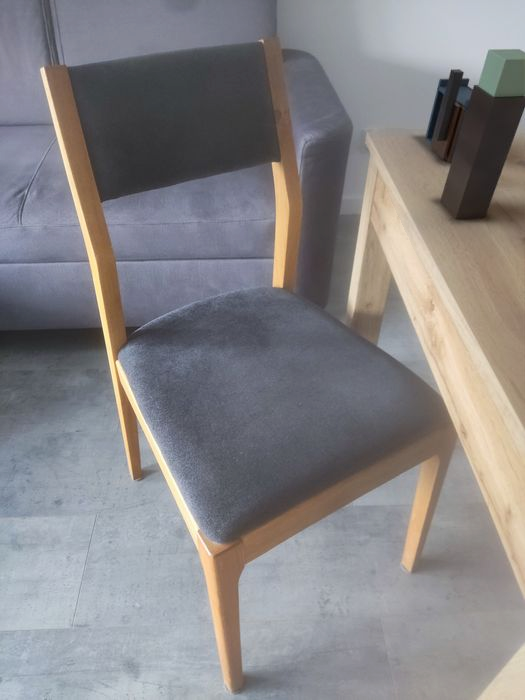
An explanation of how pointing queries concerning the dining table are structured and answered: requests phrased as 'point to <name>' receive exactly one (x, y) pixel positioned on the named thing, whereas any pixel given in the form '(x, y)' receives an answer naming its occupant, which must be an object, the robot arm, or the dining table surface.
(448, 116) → the door
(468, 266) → the dining table surface
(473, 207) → the plinth
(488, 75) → the block
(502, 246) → the dining table surface
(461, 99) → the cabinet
